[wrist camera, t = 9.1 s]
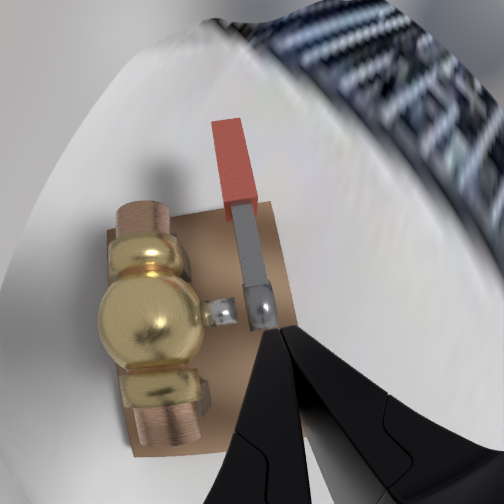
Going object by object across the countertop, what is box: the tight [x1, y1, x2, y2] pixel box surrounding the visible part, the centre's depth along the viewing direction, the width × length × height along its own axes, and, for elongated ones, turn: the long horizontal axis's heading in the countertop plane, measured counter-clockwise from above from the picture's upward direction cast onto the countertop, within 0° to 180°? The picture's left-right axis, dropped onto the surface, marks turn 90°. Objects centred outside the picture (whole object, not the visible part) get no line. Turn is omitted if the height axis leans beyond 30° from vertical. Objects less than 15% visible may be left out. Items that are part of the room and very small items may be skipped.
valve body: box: [98, 201, 239, 447], centre depth 15 cm, size 11×6×8 cm, turn 10°
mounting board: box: [107, 201, 307, 457], centre depth 20 cm, size 16×12×1 cm
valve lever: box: [211, 118, 278, 332], centre depth 16 cm, size 2×2×11 cm
